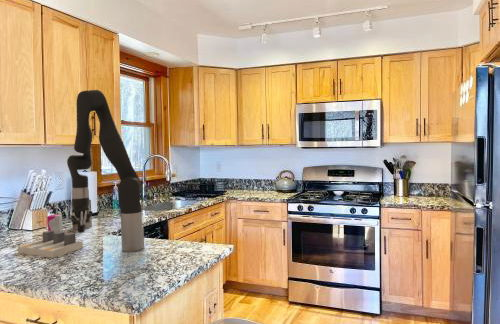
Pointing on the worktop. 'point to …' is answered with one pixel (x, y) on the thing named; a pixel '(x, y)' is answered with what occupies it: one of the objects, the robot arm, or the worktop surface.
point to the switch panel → (48, 248)
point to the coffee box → (87, 224)
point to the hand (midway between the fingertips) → (81, 232)
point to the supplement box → (55, 223)
